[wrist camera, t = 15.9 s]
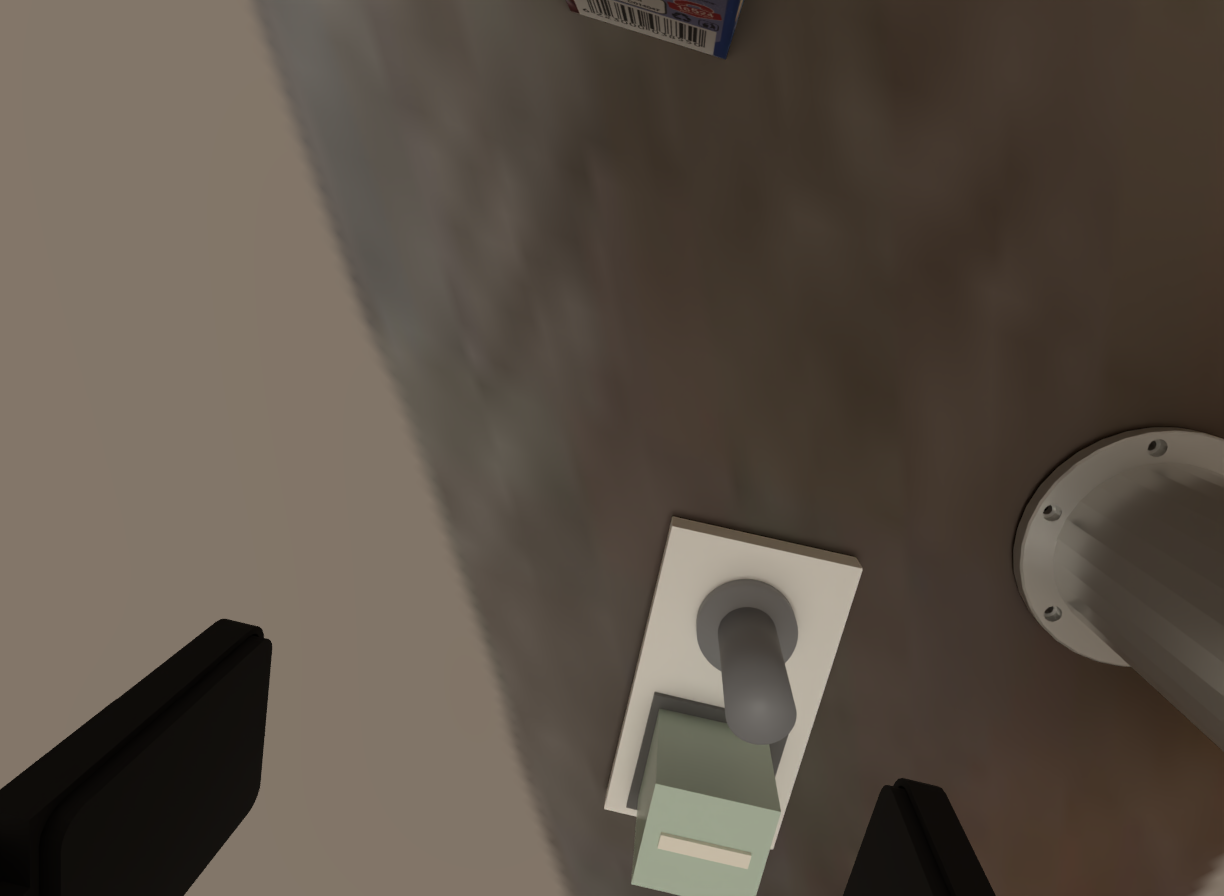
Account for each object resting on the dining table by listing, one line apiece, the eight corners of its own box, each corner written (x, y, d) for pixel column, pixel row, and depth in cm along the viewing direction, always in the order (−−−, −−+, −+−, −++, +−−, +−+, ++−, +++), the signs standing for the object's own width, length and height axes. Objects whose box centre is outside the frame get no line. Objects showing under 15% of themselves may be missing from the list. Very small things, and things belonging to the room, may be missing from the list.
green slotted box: (767, 732, 40) (781, 815, 34) (741, 821, 42) (751, 915, 36) (659, 708, 40) (655, 786, 35) (638, 797, 42) (630, 887, 36)
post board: (672, 516, 40) (669, 594, 30) (856, 557, 39) (908, 648, 30) (606, 790, 44) (586, 930, 35) (769, 829, 44) (792, 980, 35)
